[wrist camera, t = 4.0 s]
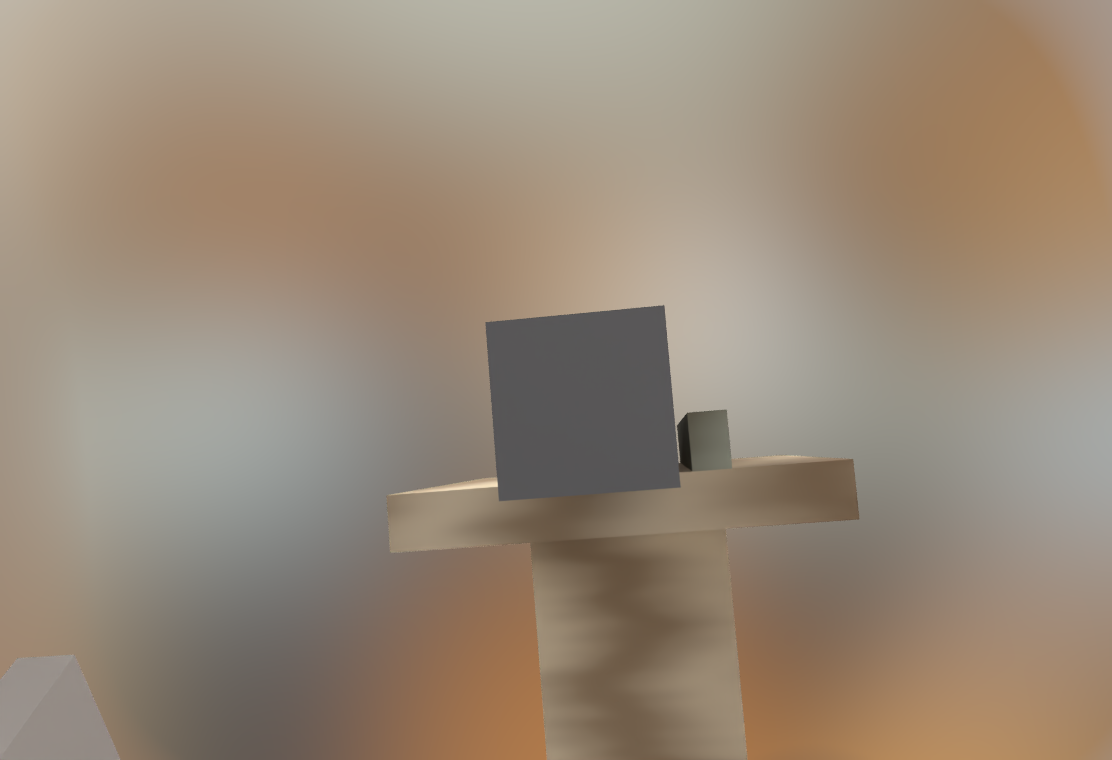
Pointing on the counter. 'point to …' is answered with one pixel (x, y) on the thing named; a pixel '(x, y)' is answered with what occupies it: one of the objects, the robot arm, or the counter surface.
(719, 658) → the stand
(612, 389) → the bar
